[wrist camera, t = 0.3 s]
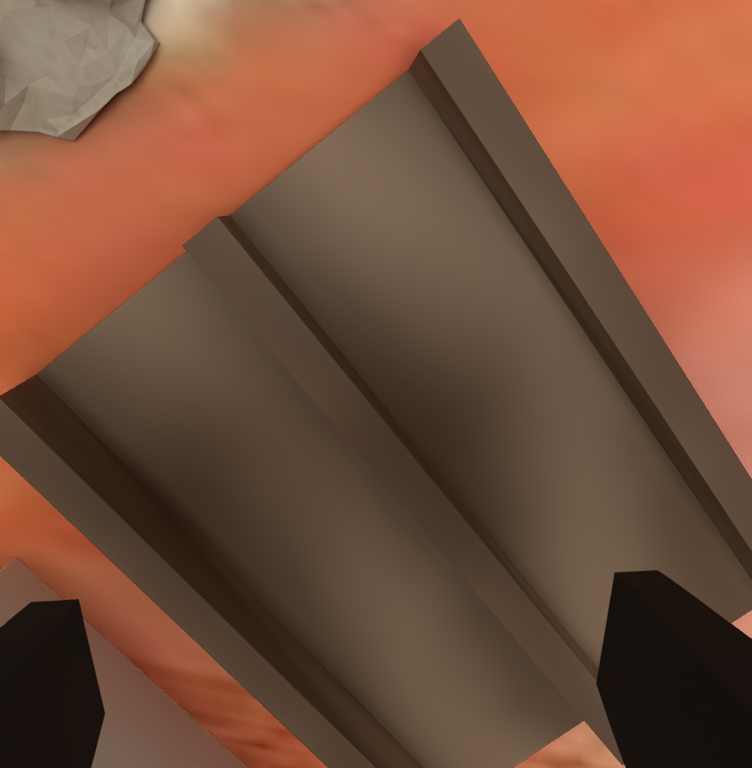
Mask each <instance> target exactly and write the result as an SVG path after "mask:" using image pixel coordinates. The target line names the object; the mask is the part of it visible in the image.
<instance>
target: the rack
mask: <svg viewBox="0 0 752 768" xmlns="http://www.w3.org/2000/svg"><path fill="white" fill-rule="evenodd" d="M183 247H184V249H185V250H186V251H187V252H185V253H184V254H183V255H182V256H181V257H179V258H178V259H177V260H176V261H174V262H173V263H172V264H171V265H170V266H168V267H167V268H166V269H165V270H163V271H162V272H161V273H160V274H159V275H157V276H156V277H155V278H154V279H152V280H151V281H150V282H149V283H148V284H146V285H145V286H144V287H143V288H141V289H140V290H139V291H138V292H137V293H135V294H134V295H133V296H132V297H130V298H129V299H128V300H127V301H126V302H124V303H123V304H122V305H121V306H120V307H118V308H117V309H116V310H115V311H113V312H112V313H111V314H110V315H109V316H107V317H106V318H105V319H104V320H102V321H101V322H100V323H99V324H98V325H96V326H95V327H94V328H93V329H91V330H90V331H89V332H88V333H87V334H85V335H84V336H83V337H82V338H80V339H79V340H78V341H77V342H76V343H74V344H73V345H72V346H71V347H69V348H68V349H67V350H66V351H65V352H63V353H62V354H61V355H60V356H58V357H57V358H56V359H55V360H54V361H52V362H51V363H50V364H49V365H48V366H46V367H45V368H44V369H43V370H41V371H40V372H39V373H38V374H37V375H35V376H33V377H31V378H30V379H28V380H26V381H25V382H23V383H21V384H20V385H18V386H16V387H14V388H13V389H11V390H9V391H8V392H6V393H4V394H2V395H1V396H0V456H1V457H2V458H3V459H4V460H5V461H6V462H8V463H9V464H10V465H11V466H12V467H13V468H14V469H15V470H16V471H17V472H18V473H19V474H20V475H21V476H22V477H23V478H24V479H25V480H26V481H27V482H29V483H30V484H31V485H32V486H33V487H34V488H35V489H36V490H37V491H38V492H39V493H40V494H41V495H42V496H43V497H44V498H45V499H46V500H47V501H48V502H50V503H51V504H52V505H53V506H54V507H55V508H56V509H57V510H58V511H59V512H60V513H61V514H62V515H63V516H64V517H65V518H66V519H67V520H68V521H69V522H71V523H72V524H73V525H74V526H75V527H76V528H77V529H78V530H79V531H80V532H81V533H82V534H83V535H84V536H85V537H86V538H87V539H88V540H89V541H91V542H92V543H93V544H94V545H95V546H96V547H97V548H98V549H99V550H100V551H101V552H102V553H103V554H104V555H105V556H106V557H107V558H108V559H109V560H110V561H112V562H113V563H114V564H115V565H116V566H117V567H118V568H119V569H120V570H121V571H122V572H123V573H124V574H125V575H126V576H127V577H128V578H129V579H130V580H131V581H133V582H134V583H135V584H136V585H137V586H138V587H139V588H140V589H141V590H142V591H143V592H144V593H145V594H146V595H147V596H148V597H149V598H150V599H151V600H152V601H154V602H155V603H156V604H157V605H158V606H159V607H160V608H161V609H162V610H163V611H164V612H165V613H166V614H167V615H168V616H169V617H170V618H171V619H172V620H173V621H175V622H176V623H177V624H178V625H179V626H180V627H181V628H182V629H183V630H184V631H185V632H186V633H187V634H188V635H189V636H190V637H191V638H192V639H193V640H195V641H196V642H197V643H198V644H199V645H200V646H201V647H202V648H203V649H204V650H205V651H206V652H207V653H208V654H209V655H210V656H211V657H212V658H213V659H214V660H216V661H217V662H218V663H219V664H220V665H221V666H222V667H223V668H224V669H225V670H226V671H227V672H228V673H229V674H230V675H231V676H232V677H233V678H234V679H235V680H237V681H238V682H239V683H240V684H241V685H242V686H243V687H244V688H245V689H246V690H247V691H248V692H249V693H250V694H251V695H252V696H253V697H254V698H255V699H256V700H258V701H259V702H260V703H261V704H262V705H263V706H264V707H265V708H266V709H267V710H268V711H269V712H270V713H271V714H272V715H273V716H274V717H275V718H276V719H277V720H279V721H280V722H281V723H282V724H283V725H284V726H285V727H286V728H287V729H288V730H289V731H290V732H291V733H292V734H293V735H294V736H295V737H296V738H297V739H299V740H300V741H301V742H302V743H303V744H304V745H305V746H306V747H307V748H308V749H309V750H310V751H311V752H312V753H313V754H314V755H315V756H316V757H317V758H318V759H320V760H321V761H322V762H323V763H324V764H325V765H326V766H327V767H328V768H513V767H515V766H516V765H518V764H519V763H521V762H522V761H524V760H525V759H527V758H528V757H530V756H531V755H533V754H534V753H536V752H537V751H539V750H540V749H542V748H543V747H545V746H546V745H548V744H549V743H551V742H552V741H554V740H555V739H557V738H558V737H560V736H561V735H563V734H564V733H566V732H567V731H569V730H571V729H572V728H574V727H575V726H577V725H578V724H580V723H581V722H583V721H585V722H586V723H587V724H588V725H589V727H590V728H591V729H592V730H593V731H594V733H595V734H596V735H597V736H598V737H599V738H600V740H601V741H602V742H603V743H604V744H605V746H606V747H607V748H608V749H609V750H610V751H611V753H612V754H613V755H614V756H615V757H616V759H617V760H618V761H619V762H620V763H621V764H622V765H624V762H623V760H622V757H621V755H620V752H619V749H618V746H617V743H616V741H615V738H614V735H613V732H612V730H611V727H610V724H609V721H608V718H607V715H606V712H605V709H604V706H603V703H602V700H601V697H600V694H599V691H598V688H597V685H596V681H597V675H598V669H599V663H600V657H601V651H602V645H603V639H604V633H605V627H606V621H607V614H608V608H609V602H610V596H611V590H612V584H613V578H614V572H629V571H648V570H658V571H660V572H661V573H663V574H664V575H666V576H667V577H669V578H670V579H671V580H673V581H674V582H676V583H677V584H678V585H680V586H681V587H683V588H684V589H685V590H687V591H688V592H689V593H691V594H692V595H694V596H695V597H696V598H698V599H699V600H700V601H702V602H703V603H704V604H706V605H707V606H708V607H710V608H711V609H712V610H714V611H715V612H716V613H718V614H719V615H720V616H722V617H723V618H724V619H726V620H727V621H728V622H730V623H733V622H734V621H736V620H737V619H739V618H740V617H742V616H743V615H745V614H746V613H748V612H749V611H751V610H752V479H751V477H750V476H749V474H748V473H747V471H746V469H745V468H744V466H743V465H742V463H741V462H740V460H739V458H738V457H737V455H736V454H735V452H734V451H733V449H732V447H731V446H730V444H729V443H728V441H727V439H726V438H725V436H724V435H723V433H722V432H721V430H720V428H719V427H718V425H717V424H716V422H715V421H714V419H713V417H712V416H711V414H710V413H709V411H708V409H707V408H706V406H705V405H704V403H703V402H702V400H701V398H700V397H699V395H698V394H697V392H696V391H695V389H694V387H693V386H692V384H691V383H690V381H689V380H688V378H687V376H686V375H685V373H684V372H683V370H682V368H681V367H680V365H679V364H678V362H677V361H676V359H675V357H674V356H673V354H672V353H671V351H670V350H669V348H668V346H667V345H666V343H665V342H664V340H663V338H662V337H661V335H660V334H659V332H658V331H657V329H656V327H655V326H654V324H653V323H652V321H651V320H650V318H649V316H648V315H647V313H646V312H645V310H644V309H643V307H642V305H641V304H640V302H639V301H638V299H637V297H636V296H635V294H634V293H633V291H632V290H631V288H630V286H629V285H628V283H627V282H626V280H625V279H624V277H623V275H622V274H621V272H620V271H619V269H618V268H617V266H616V264H615V263H614V261H613V260H612V258H611V256H610V255H609V253H608V252H607V250H606V249H605V247H604V245H603V244H602V242H601V241H600V239H599V238H598V236H597V234H596V233H595V231H594V230H593V228H592V226H591V225H590V223H589V222H588V220H587V219H586V217H585V215H584V214H583V212H582V211H581V209H580V208H579V206H578V204H577V203H576V201H575V200H574V198H573V197H572V195H571V193H570V192H569V190H568V189H567V187H566V185H565V184H564V182H563V181H562V179H561V178H560V176H559V174H558V173H557V171H556V170H555V168H554V167H553V165H552V163H551V162H550V160H549V159H548V157H547V156H546V154H545V152H544V151H543V149H542V148H541V146H540V144H539V143H538V141H537V140H536V138H535V137H534V135H533V133H532V132H531V130H530V129H529V127H528V126H527V124H526V122H525V121H524V119H523V118H522V116H521V114H520V113H519V111H518V110H517V108H516V107H515V105H514V103H513V102H512V100H511V99H510V97H509V96H508V94H507V92H506V91H505V89H504V88H503V86H502V85H501V83H500V81H499V80H498V78H497V77H496V75H495V73H494V72H493V70H492V69H491V67H490V66H489V64H488V62H487V61H486V59H485V58H484V56H483V55H482V53H481V51H480V50H479V48H478V47H477V45H476V43H475V42H474V40H473V39H472V37H471V36H470V34H469V32H468V31H467V29H466V28H465V26H464V25H463V23H462V21H461V20H460V18H459V19H458V20H457V21H455V22H454V23H453V24H452V25H450V26H449V27H448V28H447V29H446V30H444V31H443V32H442V33H441V34H439V35H438V36H437V37H436V38H435V39H433V40H432V41H431V42H430V43H429V44H427V45H426V46H425V47H424V48H422V49H421V50H420V52H419V53H418V55H417V57H416V58H415V60H414V61H413V63H412V65H411V66H410V68H409V70H407V71H406V72H405V73H404V74H403V75H401V76H400V77H399V78H398V79H397V80H395V81H394V82H393V83H392V84H390V85H389V86H388V87H387V88H386V89H384V90H383V91H382V92H381V93H379V94H378V95H377V96H376V97H375V98H373V99H372V100H371V101H370V102H368V103H367V104H366V105H365V106H364V107H362V108H361V109H360V110H359V111H357V112H356V113H355V114H354V115H353V116H351V117H350V118H349V119H348V120H346V121H345V122H344V123H343V124H342V125H340V126H339V127H338V128H337V129H336V130H334V131H333V132H332V133H331V134H329V135H328V136H327V137H326V138H325V139H323V140H322V141H321V142H320V143H318V144H317V145H316V146H315V147H314V148H312V149H311V150H310V151H309V152H307V153H306V154H305V155H304V156H303V157H301V158H300V159H299V160H298V161H296V162H295V163H294V164H293V165H292V166H290V167H289V168H288V169H287V170H285V171H284V172H283V173H282V174H281V175H279V176H278V177H277V178H276V179H274V180H273V181H272V182H271V183H270V184H268V185H267V186H266V187H265V188H264V189H262V190H261V191H260V192H259V193H257V194H256V195H255V196H254V197H253V198H251V199H250V200H249V201H248V202H246V203H245V204H244V205H243V206H242V207H240V208H239V209H238V210H237V211H235V212H234V213H233V214H232V215H231V216H222V217H217V218H215V219H214V220H213V221H212V222H211V223H209V224H208V225H207V226H206V227H205V228H203V229H202V230H201V231H200V232H198V233H197V234H196V235H195V236H194V237H192V238H191V239H190V240H189V241H187V242H186V243H185V244H184V245H183Z"/></svg>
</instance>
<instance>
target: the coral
mask: <svg viewBox="0 0 752 768" xmlns="http://www.w3.org/2000/svg"><path fill="white" fill-rule="evenodd" d="M144 5H145V0H0V131H3V130H17V131H34V132H41V133H43V134H46V135H49V136H52V137H55V138H60V139H65V140H69V141H74V140H75V139H76V138H77V137H78V136H79V134H80V133H81V132H82V131H83V130H84V129H85V127H86V126H87V125H88V124H89V123H90V122H91V121H92V119H93V118H94V117H95V116H96V115H97V114H98V112H99V111H100V110H101V109H102V108H103V107H104V106H105V105H106V104H107V103H108V102H109V101H110V99H111V98H112V97H113V96H114V95H115V94H116V93H118V92H119V91H121V90H123V89H124V88H126V87H128V86H129V85H131V83H132V82H133V81H134V80H135V79H136V78H137V77H138V76H139V75H140V74H141V72H142V71H143V70H144V69H145V67H146V65H147V64H148V62H149V61H150V59H151V57H152V56H153V54H154V52H155V51H156V49H157V47H158V46H159V44H160V43H159V42H158V40H157V39H156V38H155V37H154V36H153V35H152V34H151V32H150V31H149V30H148V29H147V28H146V27H145V26H144V24H143V23H142V22H141V20H142V15H143V10H144Z"/></svg>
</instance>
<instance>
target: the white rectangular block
mask: <svg viewBox="0 0 752 768" xmlns="http://www.w3.org/2000/svg"><path fill="white" fill-rule="evenodd" d="M57 600H63V599H62V598H61V597H60V596H58V595H57V594H56V593H55V592H54V591H53V590H52V589H51V588H50V587H49V586H47V585H46V584H45V583H44V582H43V581H42V580H41V579H40V578H39V577H37V576H36V575H35V574H34V573H33V572H32V571H31V570H30V569H29V568H28V567H26V566H25V565H24V564H23V563H22V562H21V561H20V560H19V559H18V558H17V557H15V558H14V559H12V560H11V561H10V562H9V563H7V564H6V565H5V566H3V567H2V568H1V569H0V627H1V626H3V625H4V624H5V623H6V622H7V621H8V620H10V619H11V618H12V617H13V616H14V615H16V614H17V613H18V612H19V611H20V610H22V609H23V608H24V607H25V606H27V605H28V604H29V603H30V602H37V601H57ZM83 620H84V625H85V629H86V633H87V637H88V642H89V646H90V650H91V655H92V659H93V663H94V667H95V672H96V676H97V680H98V684H99V689H100V693H101V697H102V701H103V706H104V710H105V717H104V721H103V724H102V728H101V732H100V736H99V740H98V744H97V748H96V752H95V756H94V760H93V763H92V767H91V768H248V767H247V766H246V765H245V764H244V763H243V762H241V761H240V760H239V759H238V758H237V757H236V756H235V755H234V754H233V753H232V752H230V751H229V750H228V749H227V748H226V747H225V746H224V745H223V744H222V743H220V742H219V741H218V740H217V739H216V738H215V737H214V736H213V735H212V734H211V733H209V732H208V731H207V730H206V729H205V728H204V727H203V726H202V725H201V724H200V723H198V722H197V721H196V720H195V719H194V718H193V717H192V716H191V715H190V714H189V713H187V712H186V711H185V710H184V709H183V708H182V707H181V706H180V705H179V704H177V703H176V702H175V701H174V700H173V699H172V698H171V697H170V696H169V695H168V694H166V693H165V692H164V691H163V690H162V689H161V688H160V687H159V686H158V685H157V684H155V683H154V682H153V681H152V680H151V679H150V678H149V677H148V676H147V675H146V674H144V673H143V672H142V671H141V670H140V669H139V668H138V667H137V666H136V665H135V664H133V663H132V662H131V661H130V660H129V659H128V658H127V657H126V656H125V655H123V654H122V653H121V652H120V651H119V650H118V649H117V648H116V647H115V646H114V645H112V644H111V643H110V642H109V641H108V640H107V639H106V638H105V637H104V636H103V635H101V634H100V633H99V632H98V631H97V630H96V629H95V628H94V627H93V626H92V625H90V624H89V623H88V622H87V621H86V620H85V619H84V618H83Z"/></svg>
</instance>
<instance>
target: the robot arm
mask: <svg viewBox="0 0 752 768" xmlns="http://www.w3.org/2000/svg"><path fill="white" fill-rule="evenodd" d="M596 685H597V688H598V691H599V694H600V697H601V700H602V703H603V706H604V709H605V712H606V715H607V718H608V721H609V724H610V727H611V730H612V732H613V735H614V738H615V741H616V743H617V746H618V749H619V752H620V755H621V757H622V760H623V762H624V764H625V767H626V768H752V639H751V638H750V637H748V636H747V635H746V634H744V633H743V632H742V631H740V630H739V629H738V628H736V627H735V626H734V625H732V624H731V623H730V622H728V621H727V620H726V619H724V618H723V617H722V616H720V615H719V614H718V613H716V612H715V611H714V610H712V609H711V608H710V607H708V606H707V605H706V604H704V603H703V602H702V601H700V600H699V599H698V598H696V597H695V596H694V595H692V594H691V593H689V592H688V591H687V590H685V589H684V588H683V587H681V586H680V585H678V584H677V583H676V582H674V581H673V580H671V579H670V578H669V577H667V576H666V575H664V574H663V573H661V572H660V571H658V570H648V571H629V572H614V578H613V584H612V590H611V596H610V602H609V608H608V614H607V621H606V627H605V633H604V639H603V645H602V651H601V657H600V663H599V669H598V675H597V681H596ZM104 717H105V710H104V706H103V701H102V697H101V693H100V689H99V684H98V680H97V676H96V672H95V667H94V663H93V659H92V655H91V650H90V646H89V642H88V637H87V633H86V629H85V625H84V620H83V616H82V612H81V608H80V603H79V599H77V600H57V601H37V602H30V603H29V604H28V605H27V606H25V607H24V608H23V609H22V610H20V611H19V612H18V613H17V614H16V615H14V616H13V617H12V618H11V619H10V620H8V621H7V622H6V623H5V624H4V625H3V626H1V627H0V768H91V767H92V763H93V760H94V756H95V752H96V748H97V744H98V740H99V736H100V732H101V728H102V724H103V721H104Z"/></svg>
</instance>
